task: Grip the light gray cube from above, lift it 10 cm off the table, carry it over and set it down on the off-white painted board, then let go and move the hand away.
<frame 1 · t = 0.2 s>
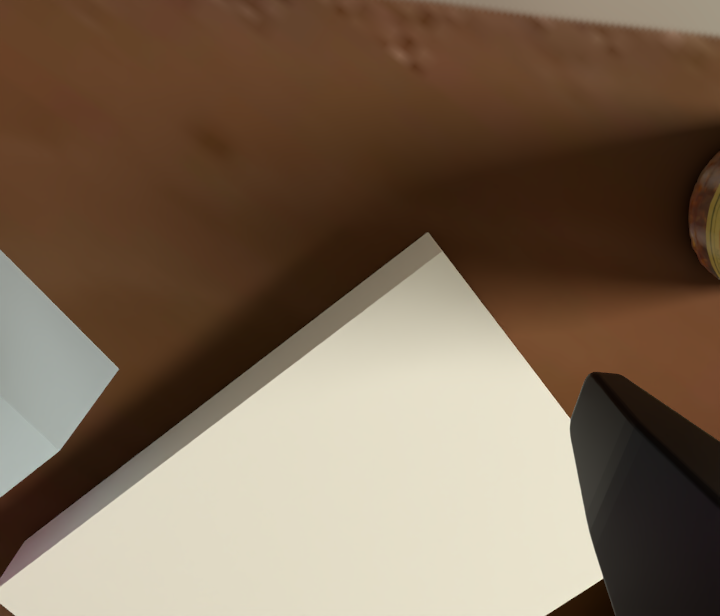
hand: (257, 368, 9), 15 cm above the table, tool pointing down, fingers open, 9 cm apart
painted board: (331, 517, 27), on the table
light gray cube: (0, 357, 25), on the table
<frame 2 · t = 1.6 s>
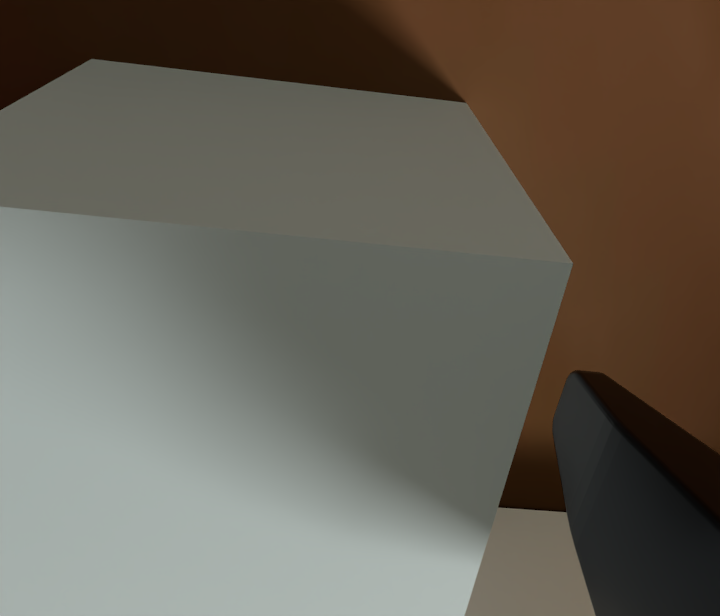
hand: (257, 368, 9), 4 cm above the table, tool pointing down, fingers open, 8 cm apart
light gray cube: (273, 248, 12), on the table
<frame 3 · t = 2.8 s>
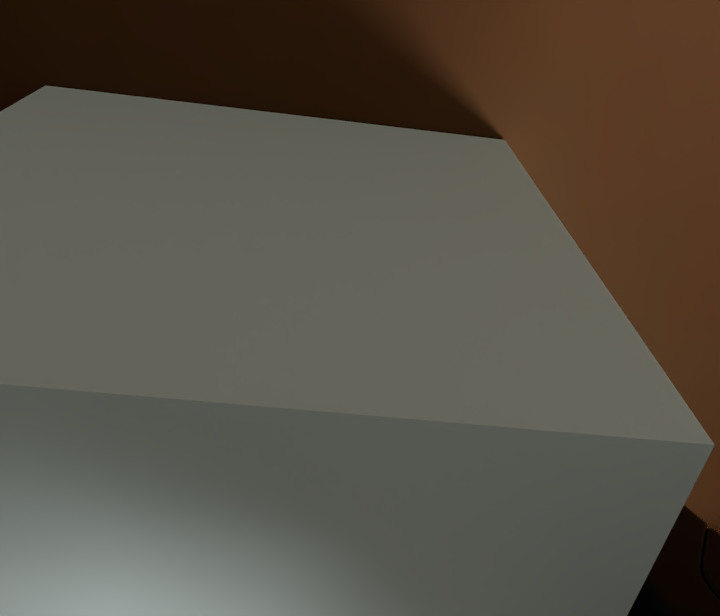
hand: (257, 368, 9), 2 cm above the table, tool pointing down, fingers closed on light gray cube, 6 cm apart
light gray cube: (268, 309, 10), on the table, touching gripper
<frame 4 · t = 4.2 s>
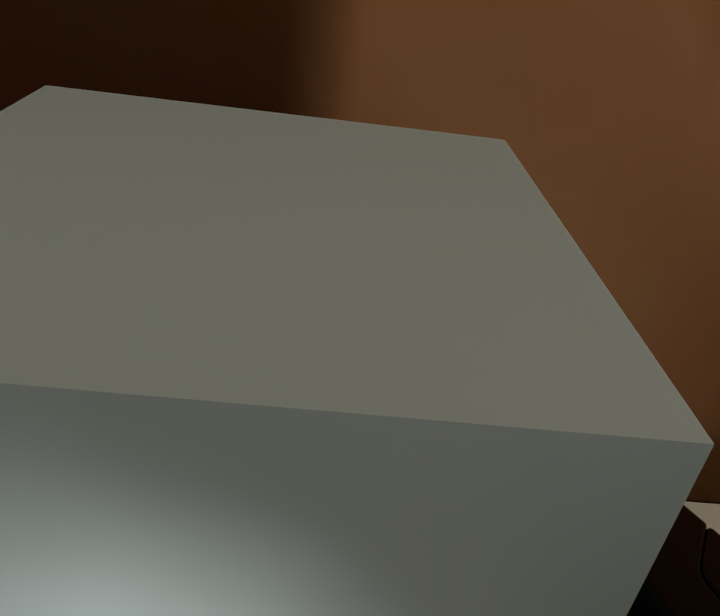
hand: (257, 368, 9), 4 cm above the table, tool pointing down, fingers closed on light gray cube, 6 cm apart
light gray cube: (268, 308, 10), point 3 cm above the table, touching gripper
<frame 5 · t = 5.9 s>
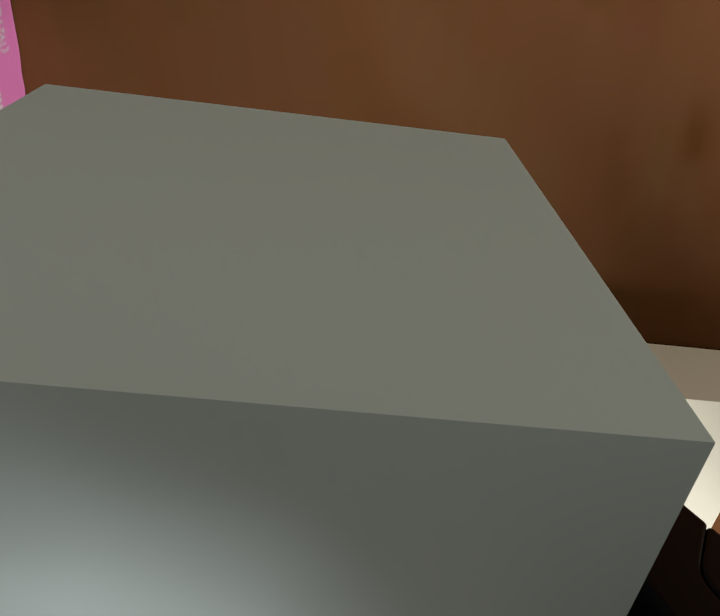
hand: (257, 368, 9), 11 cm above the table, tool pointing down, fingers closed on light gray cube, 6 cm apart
painted board: (407, 478, 26), on the table
light gray cube: (268, 308, 10), point 10 cm above the table, touching gripper
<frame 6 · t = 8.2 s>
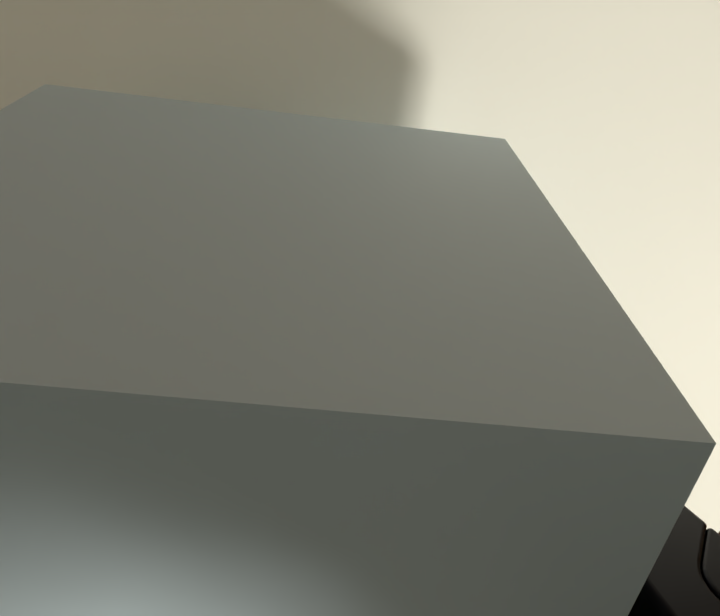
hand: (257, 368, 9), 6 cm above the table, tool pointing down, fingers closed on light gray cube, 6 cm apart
painted board: (292, 203, 14), on the table
light gray cube: (268, 308, 10), point 4 cm above the table, touching gripper
when the fingers open (6 cm above the table, at t = 8.9 s): light gray cube drops 1 cm, resting on painted board.
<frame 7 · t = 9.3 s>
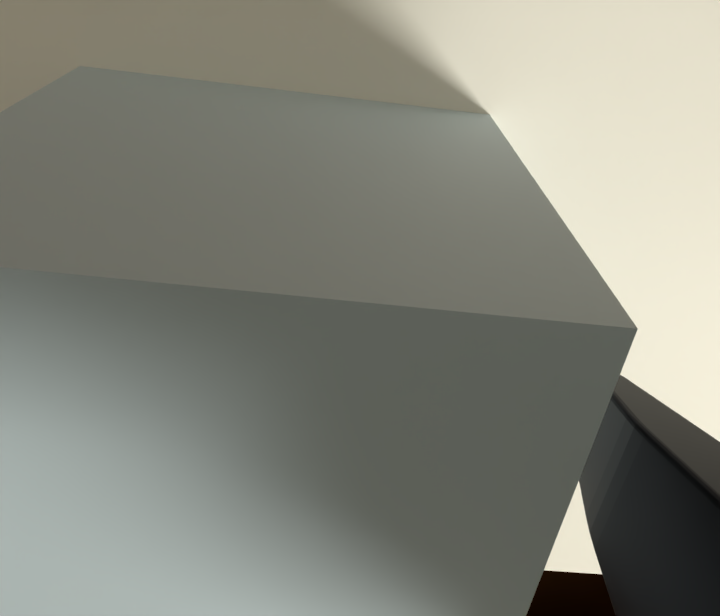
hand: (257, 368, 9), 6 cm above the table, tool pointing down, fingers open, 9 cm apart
painted board: (291, 204, 14), on the table
light gray cube: (277, 271, 11), point 3 cm above the table, touching painted board
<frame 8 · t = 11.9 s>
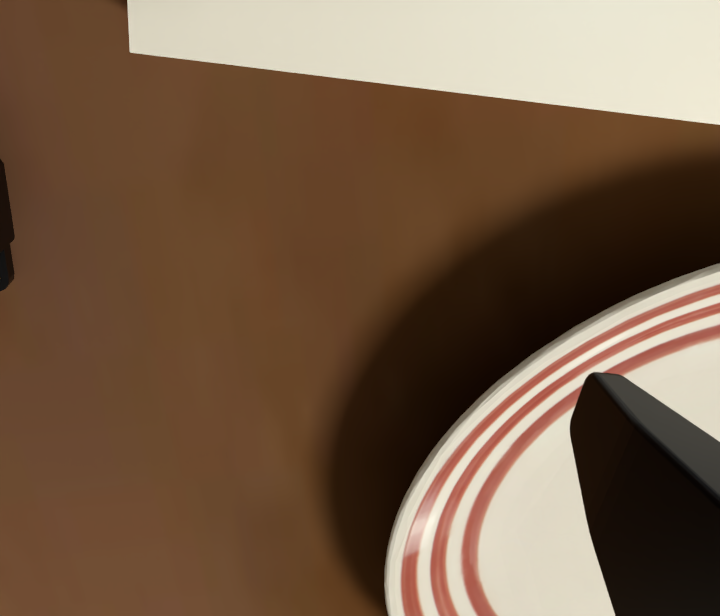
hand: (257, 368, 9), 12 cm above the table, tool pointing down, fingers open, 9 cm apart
dinner plate: (708, 503, 28), on the table
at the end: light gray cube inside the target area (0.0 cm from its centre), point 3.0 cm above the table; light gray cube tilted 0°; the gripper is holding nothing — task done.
